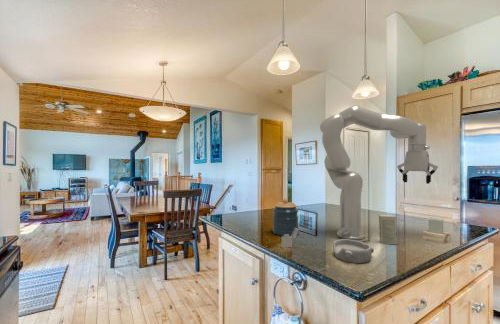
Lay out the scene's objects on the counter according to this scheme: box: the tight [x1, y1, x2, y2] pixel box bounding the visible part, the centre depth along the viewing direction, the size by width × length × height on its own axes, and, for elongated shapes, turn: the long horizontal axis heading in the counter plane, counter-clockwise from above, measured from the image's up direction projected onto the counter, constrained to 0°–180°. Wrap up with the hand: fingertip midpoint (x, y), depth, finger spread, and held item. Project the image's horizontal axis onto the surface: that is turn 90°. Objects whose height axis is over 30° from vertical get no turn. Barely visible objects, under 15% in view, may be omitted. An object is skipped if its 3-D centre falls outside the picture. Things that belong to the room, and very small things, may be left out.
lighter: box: [280, 228, 300, 249], centre depth 105 cm, size 7×2×8 cm, turn 99°
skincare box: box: [378, 214, 397, 245], centre depth 112 cm, size 6×4×12 cm
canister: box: [272, 198, 299, 237], centre depth 127 cm, size 13×13×18 cm
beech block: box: [422, 229, 452, 245], centre depth 116 cm, size 8×8×4 cm
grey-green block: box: [428, 217, 444, 234], centre depth 117 cm, size 5×5×6 cm
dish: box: [332, 238, 375, 264], centre depth 94 cm, size 14×14×5 cm
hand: (416, 182), depth 125 cm, fingers open, 9 cm apart
